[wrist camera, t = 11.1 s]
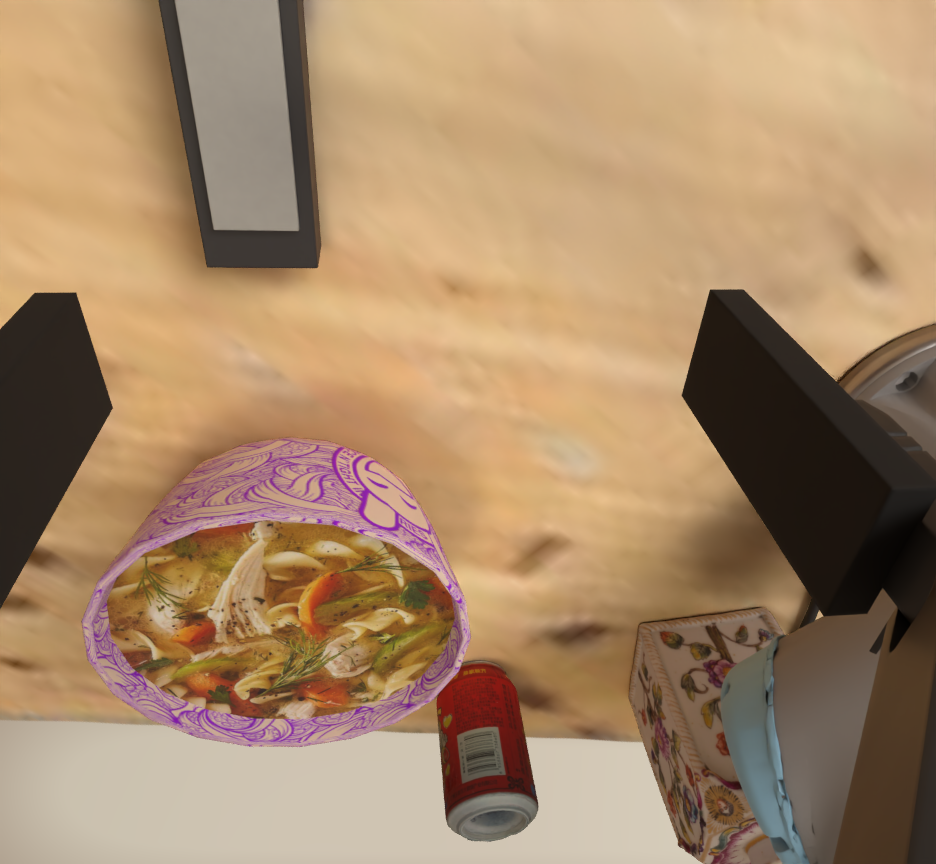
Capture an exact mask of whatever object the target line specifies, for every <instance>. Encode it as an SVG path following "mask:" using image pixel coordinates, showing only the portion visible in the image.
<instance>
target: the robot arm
mask: <svg viewBox="0 0 936 864" xmlns="http://www.w3.org/2000/svg"><path fill="white" fill-rule="evenodd" d="M682 397H683V398H684V400H685V402H686V403H687V405H688V406H689V408H690V409H691V411H692V412H693V414H694V416H695V417H696V419H697V420H698V422H699V423H700V425H701V426H702V428H703V429H704V431H705V433H706V434H707V436H708V437H709V439H710V440H711V442H712V443H713V445H714V447H715V448H716V450H717V451H718V453H719V454H720V456H721V457H722V459H723V461H724V462H725V464H726V465H727V467H728V468H729V470H730V471H731V473H732V475H733V476H734V478H735V479H736V481H737V482H738V484H739V485H740V487H741V489H742V490H743V492H744V493H745V495H746V496H747V498H748V499H749V501H750V502H751V504H752V506H753V507H754V509H755V510H756V512H757V513H758V515H759V516H760V518H761V520H762V521H763V523H764V524H765V526H766V527H767V529H768V530H769V532H770V534H771V535H772V537H773V538H774V540H775V541H776V543H777V544H778V546H779V548H780V549H781V551H782V552H783V554H784V555H785V557H786V558H787V560H788V562H789V563H790V565H791V566H792V568H793V569H794V571H795V572H796V574H797V575H798V577H799V579H800V580H801V582H802V583H803V585H804V586H805V588H806V589H807V591H808V593H809V594H810V596H811V597H812V599H811V602H810V604H809V607H808V610H807V612H806V614H805V617H804V619H803V621H802V623H801V625H800V627H799V629H798V630H796V631H794V632H792V633H790V634H789V635H787V636H786V635H784V634H782V635H779V636H777V637H775V638H774V639H773V640H772V641H771V643H770V645H768V646H766V647H765V648H763V649H761V650H760V651H758V652H756V653H755V654H753V655H751V656H750V657H748V658H746V659H745V660H743V661H741V662H740V663H738V664H736V665H735V666H734V667H733V668H732V669H731V670H730V671H729V672H728V674H727V675H726V677H725V679H724V681H723V684H722V689H721V695H720V696H721V708H720V709H721V718H722V724H723V729H724V734H725V738H726V742H727V746H728V749H729V753H730V756H731V759H732V763H733V765H734V768H735V771H736V774H737V777H738V779H739V782H740V784H741V787H742V789H743V792H744V794H745V797H746V799H747V801H748V804H749V806H750V808H751V810H752V812H753V815H754V817H755V819H756V821H757V823H758V825H759V826H760V828H761V830H762V831H763V833H764V834H765V835H766V836H769V839H770V841H771V844H772V846H773V849H774V851H775V853H776V855H777V856H778V858H779V859H780V860H781V862H782V863H783V864H936V324H935V325H932V326H928V327H925V328H922V329H920V330H917V331H914V332H912V333H909V334H907V335H905V336H903V337H901V338H899V339H897V340H895V341H893V342H891V343H889V344H888V345H886V346H884V347H883V348H881V349H880V350H878V351H876V352H875V353H874V354H872V355H871V356H869V357H868V358H866V359H865V360H864V361H863V362H861V363H860V364H859V365H858V366H856V367H855V368H854V369H853V370H852V371H851V372H850V373H849V374H848V375H846V377H845V378H844V379H843V380H842V381H841V382H840V383H839V384H838V383H837V382H836V381H835V380H834V379H833V378H832V377H831V376H830V375H829V374H828V373H827V372H826V371H825V370H824V369H823V368H822V367H821V366H820V365H819V364H818V363H817V362H816V361H815V360H814V359H813V358H812V357H811V356H810V355H809V354H808V353H807V352H806V351H805V350H804V349H803V348H802V347H801V346H800V345H799V344H798V343H797V342H796V341H795V340H794V339H793V338H792V337H791V336H790V335H789V334H788V333H787V332H786V331H785V330H784V329H783V328H782V327H781V326H780V325H779V324H778V323H777V322H776V321H775V320H774V319H773V318H772V317H771V316H770V315H769V314H768V313H767V312H766V311H765V310H764V309H763V308H762V307H761V306H759V305H758V304H757V303H756V302H755V301H754V300H753V299H752V298H751V297H750V296H749V295H748V294H747V293H746V292H745V291H744V290H710V292H709V296H708V300H707V303H706V307H705V311H704V314H703V318H702V322H701V326H700V329H699V333H698V337H697V341H696V344H695V348H694V352H693V355H692V359H691V363H690V367H689V370H688V374H687V378H686V382H685V385H684V389H683V393H682ZM112 409H113V407H112V404H111V401H110V398H109V395H108V391H107V388H106V385H105V382H104V379H103V376H102V373H101V370H100V366H99V363H98V360H97V357H96V354H95V351H94V348H93V344H92V341H91V338H90V335H89V332H88V329H87V326H86V322H85V319H84V316H83V313H82V310H81V307H80V304H79V300H78V297H77V294H76V293H34V294H33V295H32V296H31V298H30V299H29V300H28V301H27V302H26V303H25V304H24V305H23V306H22V307H21V308H20V309H19V310H18V311H17V312H16V313H15V314H14V315H13V316H12V318H11V319H10V320H9V321H8V322H7V323H6V324H5V325H4V326H3V327H2V328H1V329H0V608H1V607H2V605H3V603H4V601H5V600H6V598H7V596H8V594H9V592H10V591H11V589H12V587H13V585H14V583H15V582H16V580H17V578H18V576H19V575H20V573H21V571H22V569H23V567H24V566H25V564H26V562H27V560H28V558H29V557H30V555H31V553H32V551H33V550H34V548H35V546H36V544H37V542H38V541H39V539H40V537H41V535H42V533H43V532H44V530H45V528H46V526H47V525H48V523H49V521H50V519H51V517H52V516H53V514H54V512H55V510H56V508H57V507H58V505H59V503H60V501H61V500H62V498H63V496H64V494H65V492H66V491H67V489H68V487H69V485H70V483H71V482H72V480H73V478H74V476H75V475H76V473H77V471H78V469H79V467H80V466H81V464H82V462H83V460H84V459H85V457H86V455H87V453H88V451H89V450H90V448H91V446H92V444H93V442H94V441H95V439H96V437H97V435H98V434H99V432H100V430H101V428H102V426H103V425H104V423H105V421H106V419H107V417H108V416H109V414H110V412H111V410H112ZM819 610H820V611H821V613H822V614H823V617H821V618H819V619H817V620H815V619H816V616H817V614H818V611H819Z"/></svg>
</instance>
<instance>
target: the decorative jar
mask: <svg viewBox="0 0 936 864" xmlns="http://www.w3.org/2000/svg"><path fill="white" fill-rule="evenodd" d="M782 634H784V633H783V632H782V630H781V628H780V627H779V625H778V623H777V622H776V620H775V618H774V617H773V616H772V614H771V613H770V612H769V611H768V610H767V609H766V608H756V609H749V610H742V611H734V612H729V613H723V614H716V615H705V616H698V617H690V618H682V619H675V620H670V621H661V622H652V623H642V624H640V625H639V634H638V639H637V645H636V651H635V657H634V663H633V670H632V675H631V683H630V691H629V700H630V703H631V706H632V709H633V712H634V715H635V718H636V721H637V724H638V728H639V731H640V734H641V737H642V740H643V743H644V746H645V749H646V752H647V755H648V758H649V761H650V763H651V767H652V770H653V773H654V776H655V778H656V781H657V784H658V787H659V790H660V793H661V796H662V798H663V801H664V804H665V806H666V810H667V812H668V815H669V817H670V820H671V823H672V826H673V828H674V831H675V833H676V837H677V839H678V846H679V847H680V848H683V849H684V850H685V851H686V852H688V853H689V854H691V855H692V856H694V857H695V858H696V859H697V860H698V861H700V862H702V863H704V864H783V863H782V862H781V860H780V859H779V858H778V856H777V855H776V853H775V851H774V849H773V846H772V844H771V841H770V839H769V836H766V835H765V834H764V833H763V831H762V830H761V828H760V826H759V825H758V823H757V821H756V819H755V817H754V815H753V812H752V810H751V808H750V806H749V804H748V801H747V799H746V797H745V794H744V792H743V789H742V787H741V784H740V782H739V779H738V777H737V774H736V771H735V768H734V765H733V763H732V759H731V756H730V753H729V749H728V746H727V742H726V738H725V734H724V729H723V724H722V718H721V709H720V708H721V696H720V695H721V689H722V684H723V681H724V679H725V677H726V675H727V674H728V672H729V671H730V670H731V669H732V668H733V667H734V666H735V665H736V664H738V663H740V662H741V661H743V660H745V659H746V658H748V657H750V656H751V655H753V654H755V653H756V652H758V651H760V650H761V649H763V648H765V647H766V646H768V645H770V643H771V641H772V640H773V639H774V638H775V637H777V636H779V635H782Z"/></svg>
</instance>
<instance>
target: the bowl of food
mask: <svg viewBox="0 0 936 864" xmlns="http://www.w3.org/2000/svg"><path fill="white" fill-rule="evenodd" d="M82 627H83V633H84V640H85V646H86V652H87V658H88V661H89V662H90V664H91V665H92V666H93V668H94V669H95V670H96V672H97V673H98V674H99V676H100V677H101V679H102V680H103V681H104V683H105V684H106V685H107V687H108V688H109V689H110V691H111V692H112V693H113V694H114V695H115V696H117V697H118V698H120V699H121V700H122V701H124V702H125V703H127V704H128V705H130V706H131V707H133V708H134V709H136V710H137V711H139V712H140V713H141V714H143V715H144V716H146V717H147V718H149V719H150V720H152V721H155V722H158V723H160V724H163V725H166V726H168V727H171V728H174V729H176V730H179V731H182V732H184V733H187V734H190V735H192V736H195V737H198V738H203V739H209V740H215V741H220V742H226V743H233V744H238V745H244V746H267V747H268V746H269V747H272V746H273V747H274V746H277V747H278V746H280V747H283V746H284V747H286V746H287V747H302V746H308V745H314V744H321V743H327V742H333V741H340V740H346V739H351V738H354V737H357V736H360V735H363V734H366V733H369V732H371V731H374V730H377V729H380V728H383V727H386V726H389V725H391V724H394V723H396V722H398V721H400V720H401V719H403V718H405V717H406V716H408V715H410V714H411V713H413V712H414V711H416V710H418V709H419V708H421V707H423V706H424V705H426V704H427V703H429V702H431V701H432V700H433V699H434V698H435V697H436V696H437V695H438V694H439V693H440V691H441V690H442V689H443V688H444V687H445V686H446V685H447V684H448V683H449V682H450V680H451V679H452V678H453V677H454V676H455V675H456V674H457V673H458V672H459V669H460V667H461V664H462V661H463V658H464V655H465V653H466V650H467V647H468V644H469V641H470V639H471V634H470V627H469V620H468V613H467V606H466V600H465V598H464V596H463V593H462V591H461V589H460V586H459V584H458V582H457V579H456V577H455V575H454V573H453V571H452V569H451V567H450V564H449V562H448V560H447V558H446V555H445V553H444V551H443V548H442V546H441V544H440V542H439V540H438V538H437V535H436V533H435V531H434V529H433V527H432V525H431V523H430V522H429V520H428V518H427V516H426V515H425V513H424V511H423V509H422V508H421V506H420V505H419V503H418V502H417V500H416V499H415V497H414V496H413V494H412V493H411V491H410V490H409V488H408V487H407V486H406V484H405V483H404V481H403V480H401V479H400V478H399V477H397V476H396V475H395V474H393V473H392V472H390V471H389V470H388V469H386V468H385V467H384V466H382V465H381V464H380V463H378V462H377V461H375V460H374V459H373V458H371V457H369V456H367V455H365V454H363V453H360V452H358V451H355V450H352V449H349V448H347V447H344V446H341V445H338V444H336V443H333V442H330V441H324V440H314V439H305V438H295V437H286V438H279V439H272V440H265V441H258V442H251V443H247V444H244V445H240V446H238V447H236V448H233V449H231V450H229V451H226V452H224V453H222V454H220V455H217V456H215V457H213V458H210V459H208V460H206V461H204V462H201V463H200V464H199V465H198V466H197V467H196V468H195V469H194V470H193V471H191V472H190V473H189V474H188V475H187V476H186V477H185V478H184V479H183V480H182V481H180V482H179V483H178V484H177V485H176V486H175V487H174V488H173V489H172V490H171V491H170V492H169V493H168V494H167V495H166V496H165V497H164V498H163V500H162V501H161V502H160V503H159V504H158V505H157V506H156V507H155V509H154V510H153V511H152V512H151V513H150V515H149V516H148V517H147V518H146V520H145V521H144V522H143V523H142V525H141V526H140V527H139V528H138V530H137V531H136V532H135V534H134V535H133V536H132V538H131V539H130V540H129V542H128V543H127V544H126V545H125V547H124V548H123V549H122V550H121V552H120V553H119V554H118V555H117V557H116V558H115V559H114V560H113V561H112V563H111V564H110V565H109V567H108V568H107V570H106V571H105V572H104V574H103V575H102V576H101V578H100V579H99V580H98V582H97V584H96V587H95V589H94V592H93V594H92V597H91V599H90V601H89V604H88V606H87V609H86V611H85V614H84V616H83V619H82Z"/></svg>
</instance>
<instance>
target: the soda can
mask: <svg viewBox="0 0 936 864" xmlns="http://www.w3.org/2000/svg"><path fill="white" fill-rule="evenodd" d="M437 716H438V729H439V740H440V753H441V765H442V775H443V790H444V801H445V814H446V820H447V824H448V826H449V827H450V828H451V829H452V830H453V831H454V832H455V833H457V834H459V835H461V836H463V837H465V838H467V839H468V840H471V841H495V840H500V839H503V838H506V837H508V836H510V835H514V834H517V833H519V832H521V831H522V830H524V829H525V828H526V827H527V826H528V824H529V823H531V822H532V821H533V819H534V818H535V817H536V814H537V811H538V800H537V796H536V791H535V785H534V780H533V775H532V770H531V764H530V759H529V754H528V750H527V743H526V738H525V732H524V727H523V722H522V717H521V711H520V705H519V701H518V695H517V690H516V688H515V686H514V685H513V683H512V682H511V680H510V679H509V678H508V677H507V676H506V672H505V671H504V670H503V668H502V667H500V666H499V665H497V664H494V663H491V662H486V661H474V662H468V663H464V664H461V667H460V669H459V672H458V673H457V674H456V675H455V676H454V677H453V678H452V679H451V680H450V682H449V683H448V684H447V685H446V686H445V687H444V688H443V689H442V690H441V691H440V693H439V694H438V697H437Z"/></svg>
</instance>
